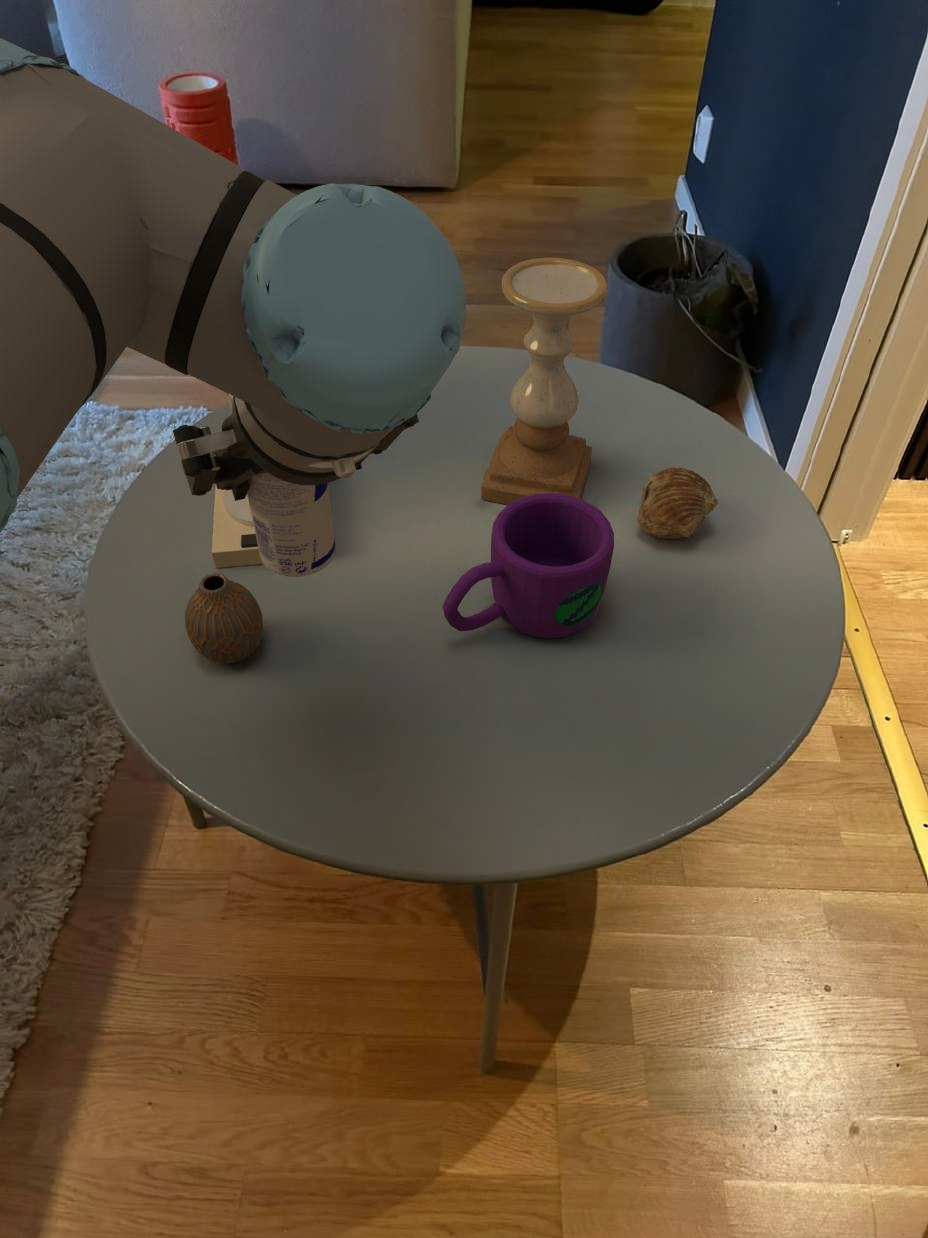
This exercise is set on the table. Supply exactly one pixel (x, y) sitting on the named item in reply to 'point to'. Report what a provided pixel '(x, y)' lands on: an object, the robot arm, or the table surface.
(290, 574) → the beverage can
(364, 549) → the table surface
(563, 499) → the mug
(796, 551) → the table surface
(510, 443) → the candle holder
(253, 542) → the kitchen scale
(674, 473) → the seashell
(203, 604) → the vase
